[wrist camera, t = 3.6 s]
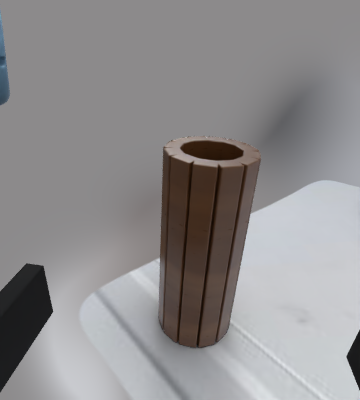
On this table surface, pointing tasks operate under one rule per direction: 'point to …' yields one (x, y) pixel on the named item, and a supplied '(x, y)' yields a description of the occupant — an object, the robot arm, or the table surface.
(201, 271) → the brown wooden hollow cylinder
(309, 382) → the table surface
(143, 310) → the table surface
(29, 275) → the robot arm
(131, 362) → the table surface
